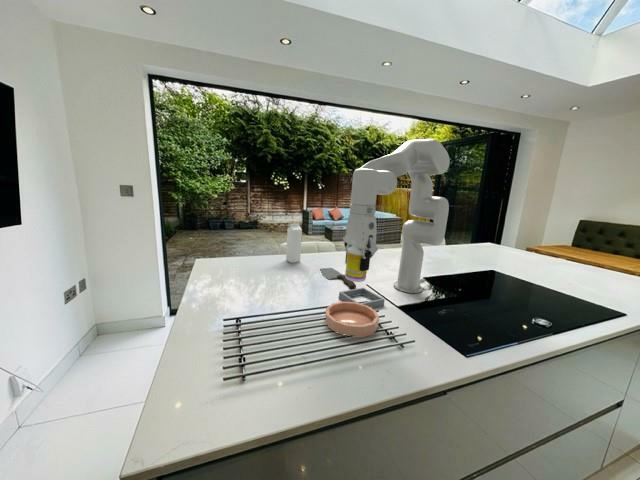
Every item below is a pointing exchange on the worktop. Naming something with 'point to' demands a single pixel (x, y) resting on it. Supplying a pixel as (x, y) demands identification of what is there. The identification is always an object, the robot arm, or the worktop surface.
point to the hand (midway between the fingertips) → (356, 266)
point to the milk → (293, 243)
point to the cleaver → (336, 276)
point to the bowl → (352, 319)
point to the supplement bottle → (354, 264)
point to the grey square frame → (346, 294)
